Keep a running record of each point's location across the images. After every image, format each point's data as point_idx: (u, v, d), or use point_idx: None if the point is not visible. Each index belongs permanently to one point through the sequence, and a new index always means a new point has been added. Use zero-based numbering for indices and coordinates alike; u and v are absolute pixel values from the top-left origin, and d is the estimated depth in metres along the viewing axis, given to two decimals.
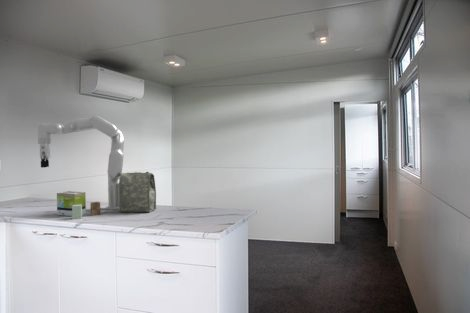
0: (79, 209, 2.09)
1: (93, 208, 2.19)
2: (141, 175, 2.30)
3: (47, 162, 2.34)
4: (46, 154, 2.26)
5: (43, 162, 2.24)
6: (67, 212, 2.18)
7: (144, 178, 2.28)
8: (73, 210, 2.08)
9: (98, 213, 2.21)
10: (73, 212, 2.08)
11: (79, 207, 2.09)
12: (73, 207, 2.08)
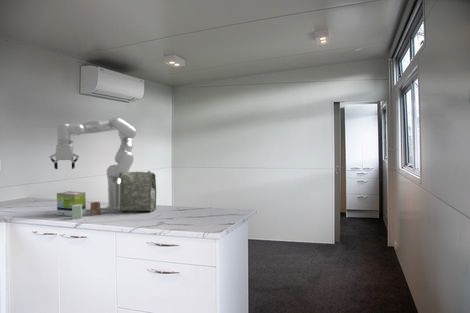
0: (79, 209, 2.09)
1: (93, 208, 2.19)
2: (143, 174, 2.32)
3: (57, 164, 2.20)
4: (73, 155, 2.23)
5: (74, 163, 2.22)
6: (67, 212, 2.18)
7: (146, 177, 2.30)
8: (73, 210, 2.08)
9: (98, 213, 2.21)
10: (73, 212, 2.08)
11: (79, 207, 2.09)
12: (73, 207, 2.08)
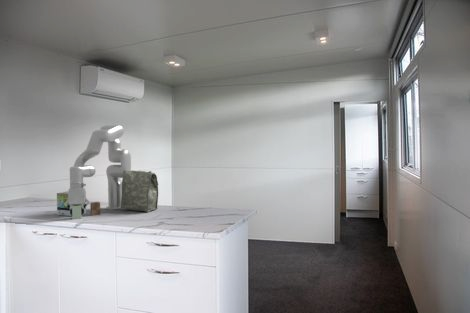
0: (79, 209, 2.09)
1: (93, 208, 2.19)
2: (143, 174, 2.31)
3: None
4: None
5: (83, 209, 2.13)
6: (67, 212, 2.18)
7: (145, 178, 2.29)
8: (73, 210, 2.08)
9: (98, 213, 2.21)
10: (73, 212, 2.08)
11: (79, 207, 2.09)
12: (73, 207, 2.08)
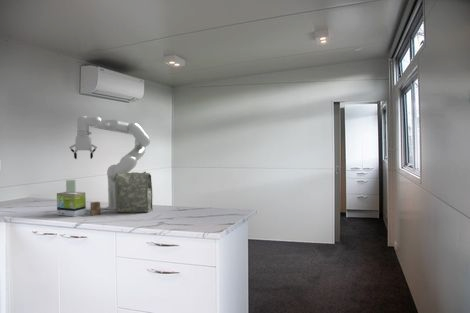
0: (73, 183, 2.21)
1: (93, 208, 2.19)
2: (138, 175, 2.29)
3: (76, 154, 2.32)
4: None
5: (92, 154, 2.35)
6: (67, 212, 2.18)
7: (142, 178, 2.28)
8: (67, 184, 2.20)
9: (98, 213, 2.21)
10: (67, 186, 2.20)
11: (73, 181, 2.21)
12: (67, 181, 2.20)
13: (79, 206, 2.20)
